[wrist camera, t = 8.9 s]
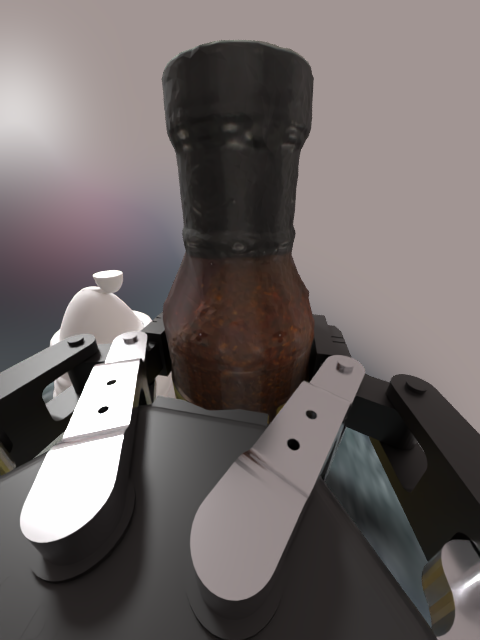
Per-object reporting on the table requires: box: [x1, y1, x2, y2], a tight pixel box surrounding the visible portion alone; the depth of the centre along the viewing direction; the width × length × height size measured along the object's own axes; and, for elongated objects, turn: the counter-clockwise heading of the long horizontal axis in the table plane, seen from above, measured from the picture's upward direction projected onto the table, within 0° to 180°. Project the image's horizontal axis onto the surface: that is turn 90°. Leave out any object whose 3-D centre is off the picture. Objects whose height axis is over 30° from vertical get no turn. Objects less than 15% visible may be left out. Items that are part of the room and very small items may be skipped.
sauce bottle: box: [162, 40, 315, 424], centre depth 11 cm, size 6×6×20 cm
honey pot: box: [50, 270, 176, 430], centre depth 26 cm, size 13×13×18 cm
